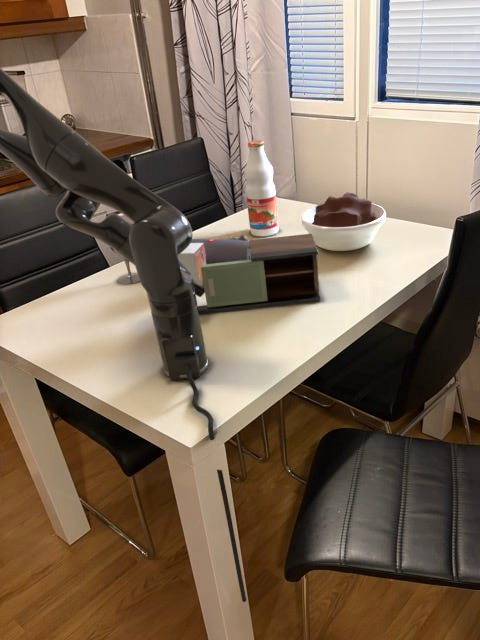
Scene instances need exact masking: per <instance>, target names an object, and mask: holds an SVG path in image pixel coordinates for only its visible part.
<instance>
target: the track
mask: <svg viewBox="0 0 480 640" xmlns="http://www.w3.org/2000/svg"><path fill="white" fill-rule="evenodd" d="M316 247H317V246H316ZM316 247H315V248H306V249H296V250H287V251H277V252H268V253H258V254H251V261H261V260H270V259H280V258H289V257H298V256H308V255H317V256H318V255H319V250H318V248H316ZM315 302H321V295H320V292H319V293H314V294H305V295H296V296H287V297H277V298H268V301H263V302H253V303H244V304H235V305H226V306H216V307H207V304H204V305H197V306H198V311H199V315H203V314H214V313H223V312H231V311H241V310H251V309H260V308H261V309H262V308H269V307H278V306H288V305H297V304H306V303H315Z"/></svg>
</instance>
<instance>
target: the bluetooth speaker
mask: <svg viewBox="0 0 480 640" xmlns="http://www.w3.org/2000/svg"><path fill="white" fill-rule="evenodd" d="M191 243H204V248H205V254H206V261H207V264H214V263H223V262H233V261H242V260H251V254H250V243H249V240H248V241H243V240H230V238H192V241H191Z"/></svg>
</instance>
